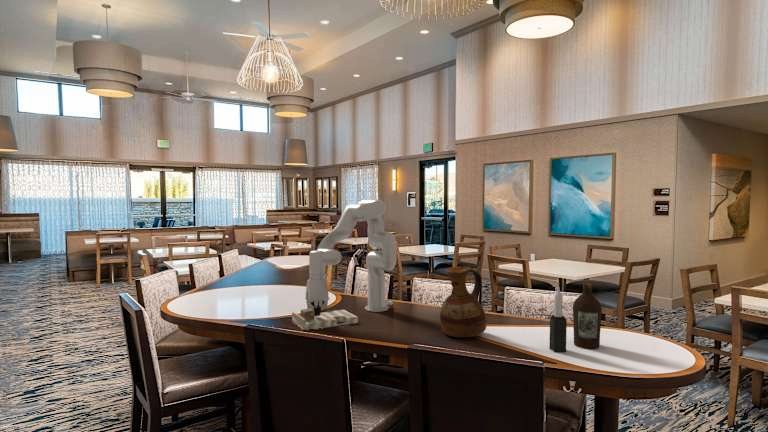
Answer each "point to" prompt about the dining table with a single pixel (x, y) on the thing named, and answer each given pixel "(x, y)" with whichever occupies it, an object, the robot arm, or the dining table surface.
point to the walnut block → (307, 314)
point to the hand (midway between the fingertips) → (317, 315)
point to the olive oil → (587, 319)
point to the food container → (323, 308)
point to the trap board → (325, 320)
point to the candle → (558, 325)
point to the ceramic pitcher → (462, 306)
